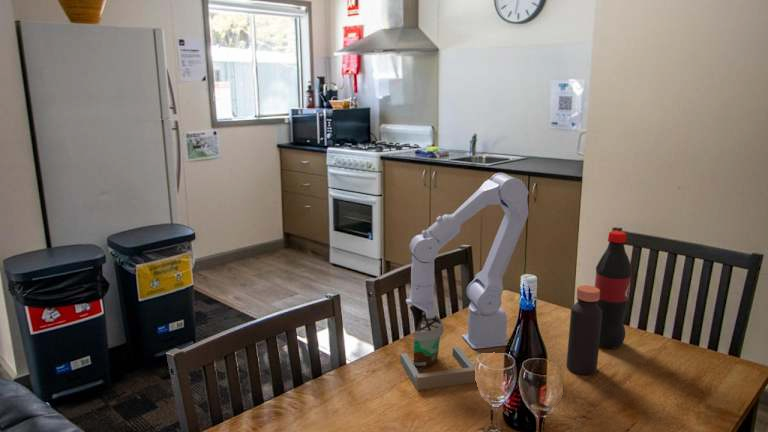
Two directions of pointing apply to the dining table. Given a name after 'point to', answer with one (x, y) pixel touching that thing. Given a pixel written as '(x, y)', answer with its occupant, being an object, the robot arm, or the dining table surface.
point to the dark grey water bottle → (584, 331)
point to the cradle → (441, 373)
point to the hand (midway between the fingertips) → (420, 333)
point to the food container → (427, 341)
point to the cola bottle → (613, 290)
